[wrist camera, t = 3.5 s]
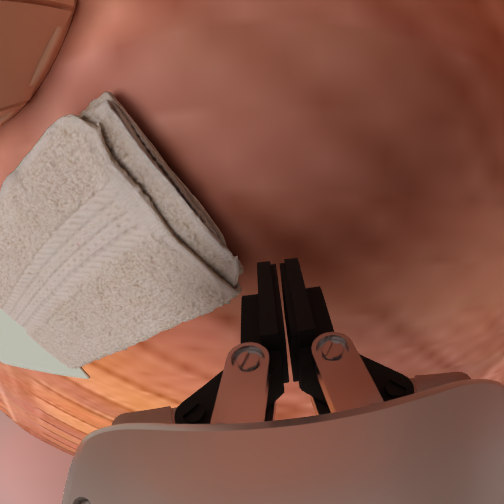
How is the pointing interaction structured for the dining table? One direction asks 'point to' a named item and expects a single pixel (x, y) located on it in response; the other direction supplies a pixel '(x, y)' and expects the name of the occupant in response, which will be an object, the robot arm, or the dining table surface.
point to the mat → (29, 351)
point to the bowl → (29, 47)
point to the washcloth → (105, 240)
